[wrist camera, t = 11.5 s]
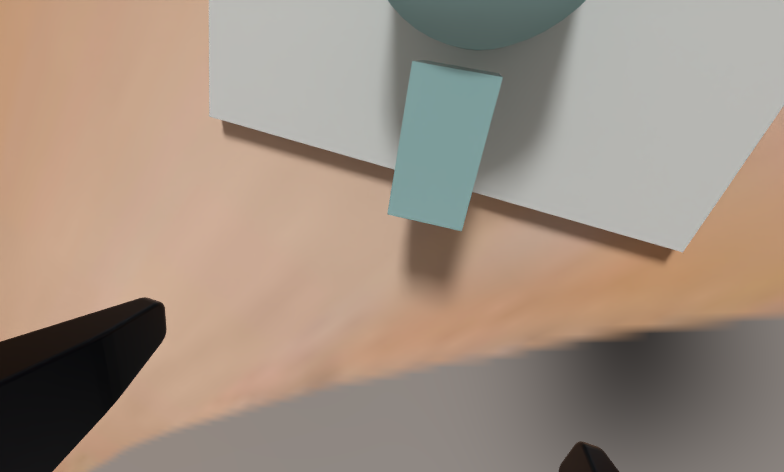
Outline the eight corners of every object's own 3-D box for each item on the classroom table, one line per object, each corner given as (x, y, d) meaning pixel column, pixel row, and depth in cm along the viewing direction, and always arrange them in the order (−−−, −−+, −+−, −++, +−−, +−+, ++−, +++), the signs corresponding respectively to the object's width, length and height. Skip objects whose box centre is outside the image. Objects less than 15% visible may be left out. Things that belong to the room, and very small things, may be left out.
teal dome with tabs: (419, -257, 10) (383, -454, 6) (651, -240, 10) (772, -447, 6) (366, 169, 16) (328, 207, 12) (510, 200, 15) (521, 251, 11)
